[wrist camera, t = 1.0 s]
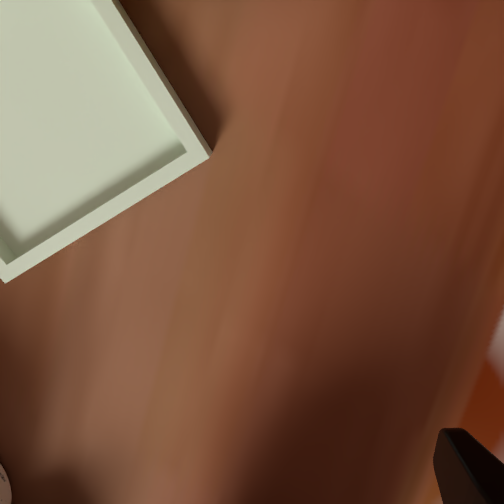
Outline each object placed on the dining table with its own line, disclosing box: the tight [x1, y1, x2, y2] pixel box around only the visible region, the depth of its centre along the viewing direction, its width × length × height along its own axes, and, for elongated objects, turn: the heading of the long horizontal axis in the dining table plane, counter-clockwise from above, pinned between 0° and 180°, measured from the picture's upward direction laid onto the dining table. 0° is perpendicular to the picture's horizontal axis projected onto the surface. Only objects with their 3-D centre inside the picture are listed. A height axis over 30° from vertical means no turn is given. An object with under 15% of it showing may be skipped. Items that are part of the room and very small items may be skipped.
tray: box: [0, 0, 213, 283], centre depth 18 cm, size 10×10×2 cm
